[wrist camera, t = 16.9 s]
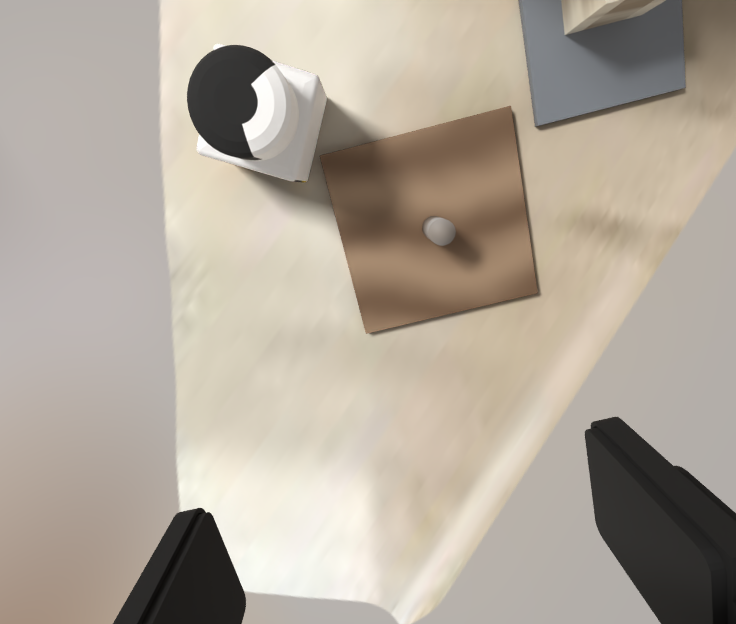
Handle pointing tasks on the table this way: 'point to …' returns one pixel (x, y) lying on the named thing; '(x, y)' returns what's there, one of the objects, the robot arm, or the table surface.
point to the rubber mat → (600, 59)
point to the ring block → (601, 12)
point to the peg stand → (433, 220)
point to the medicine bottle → (256, 112)
